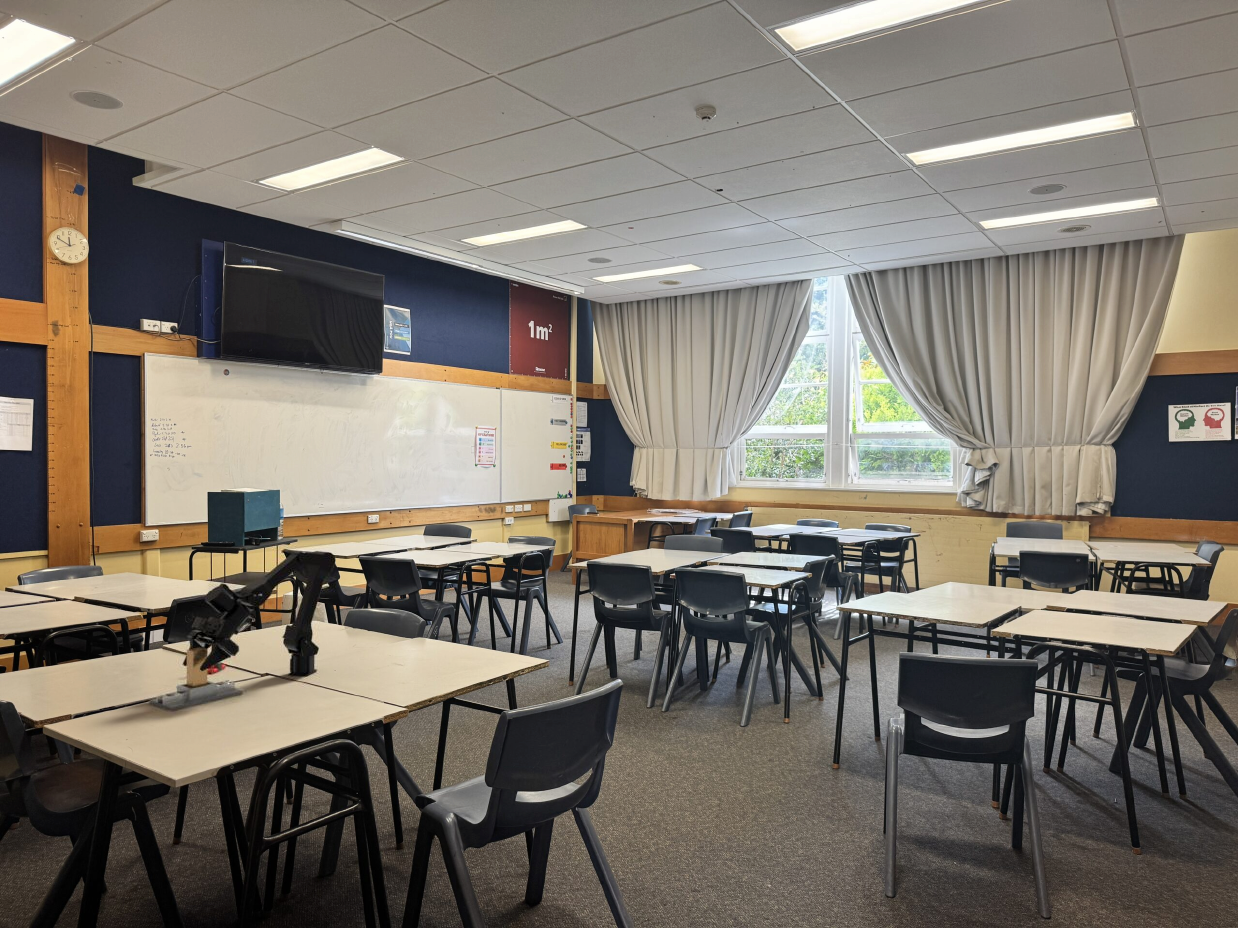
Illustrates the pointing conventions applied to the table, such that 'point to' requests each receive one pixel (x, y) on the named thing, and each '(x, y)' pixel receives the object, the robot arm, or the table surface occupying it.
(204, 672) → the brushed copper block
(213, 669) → the tow hook
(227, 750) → the table surface
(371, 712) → the table surface
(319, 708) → the table surface
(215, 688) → the grey fixture tray
